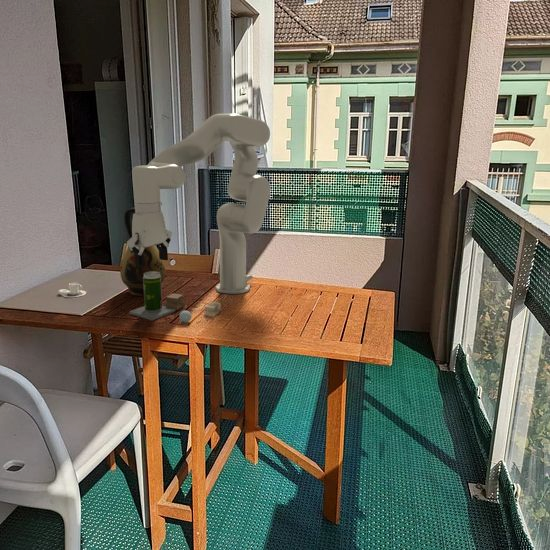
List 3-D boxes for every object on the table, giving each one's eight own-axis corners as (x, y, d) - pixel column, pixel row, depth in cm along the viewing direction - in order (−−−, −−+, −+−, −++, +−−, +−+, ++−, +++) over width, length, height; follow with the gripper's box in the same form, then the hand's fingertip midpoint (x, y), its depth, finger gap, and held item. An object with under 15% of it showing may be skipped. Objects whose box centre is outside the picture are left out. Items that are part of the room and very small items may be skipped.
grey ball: (185, 319, 150) (184, 308, 149) (194, 321, 148) (193, 310, 147) (176, 322, 147) (176, 311, 146) (185, 325, 145) (185, 313, 144)
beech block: (212, 310, 158) (212, 301, 157) (220, 311, 157) (220, 303, 156) (205, 315, 154) (204, 306, 153) (213, 316, 153) (213, 307, 152)
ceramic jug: (173, 288, 180) (170, 207, 172) (152, 300, 166) (148, 212, 158) (132, 283, 184) (128, 204, 176) (108, 295, 170) (102, 209, 162)
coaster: (153, 305, 161) (153, 303, 161) (175, 311, 156) (175, 309, 156) (129, 313, 153) (129, 311, 153) (151, 320, 148) (151, 318, 148)
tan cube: (172, 304, 162) (172, 293, 161) (183, 306, 161) (183, 294, 160) (166, 308, 159) (166, 297, 158) (177, 310, 158) (177, 298, 157)
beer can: (162, 306, 158) (160, 270, 154) (162, 312, 153) (160, 275, 149) (144, 307, 156) (143, 271, 153) (144, 313, 151) (142, 276, 148)
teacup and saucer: (55, 296, 169) (53, 285, 168) (71, 290, 176) (70, 279, 175) (75, 299, 166) (74, 288, 165) (91, 293, 173) (90, 282, 172)
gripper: (160, 203, 155) (163, 255, 160) (116, 211, 141) (121, 267, 146) (177, 205, 151) (180, 258, 156) (134, 213, 137) (139, 271, 142)
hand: (152, 263), depth 151 cm, fingers open, 9 cm apart
